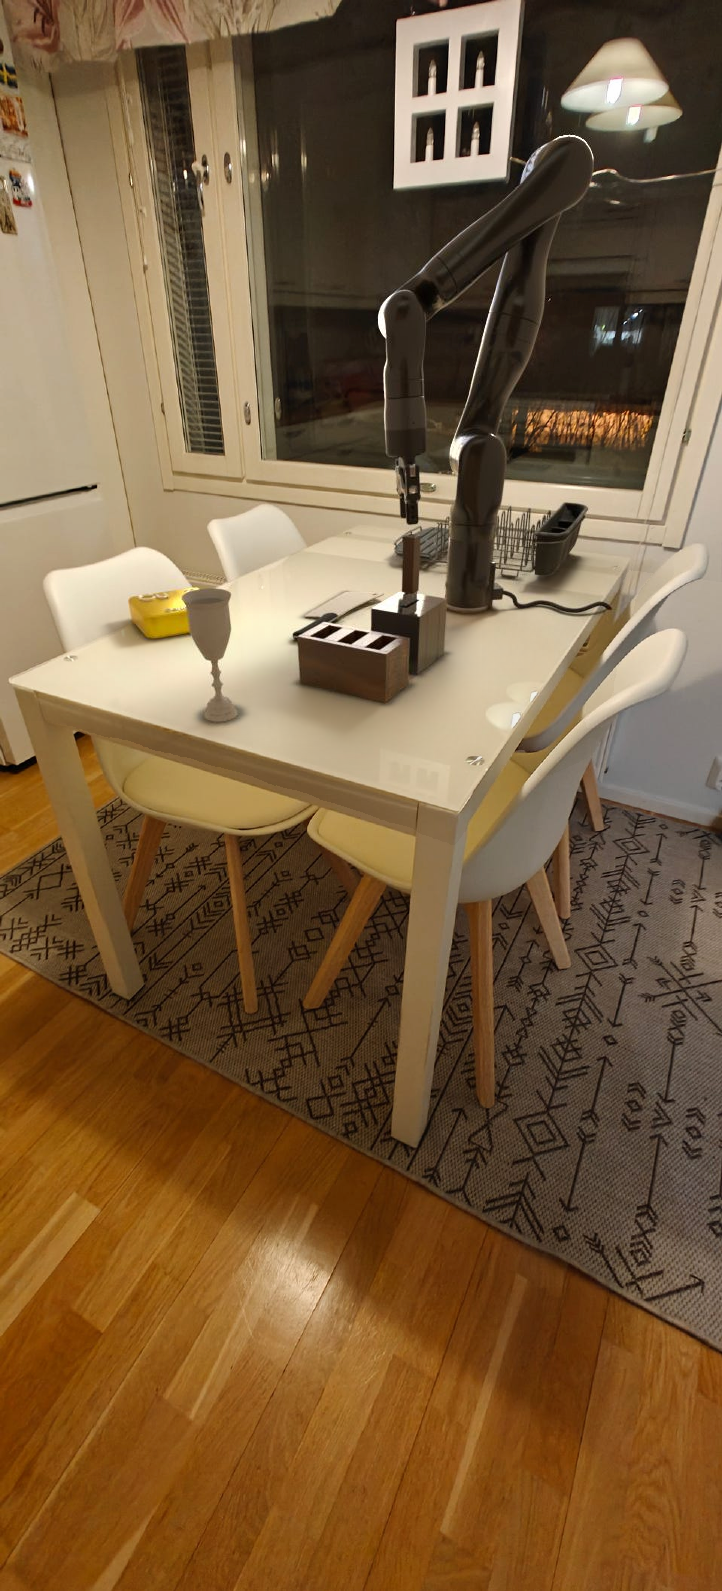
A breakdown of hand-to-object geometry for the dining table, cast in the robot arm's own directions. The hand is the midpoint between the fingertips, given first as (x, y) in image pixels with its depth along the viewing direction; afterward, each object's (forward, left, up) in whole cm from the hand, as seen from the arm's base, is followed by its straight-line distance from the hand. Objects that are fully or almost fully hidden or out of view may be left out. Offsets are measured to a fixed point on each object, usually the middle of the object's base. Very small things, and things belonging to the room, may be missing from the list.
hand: (409, 520), depth 138 cm
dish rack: (-30, -39, -19) cm, 52 cm away
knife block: (+5, +24, -18) cm, 31 cm away
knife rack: (+17, +33, -18) cm, 41 cm away
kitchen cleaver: (+15, -2, -19) cm, 24 cm away
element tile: (+46, -4, -19) cm, 50 cm away
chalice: (+38, +40, -19) cm, 58 cm away
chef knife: (+5, +24, -18) cm, 31 cm away
